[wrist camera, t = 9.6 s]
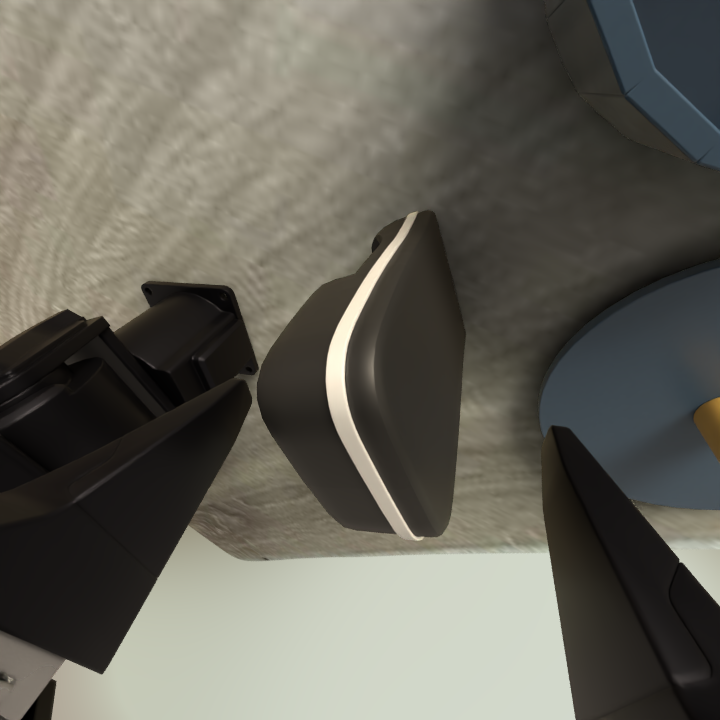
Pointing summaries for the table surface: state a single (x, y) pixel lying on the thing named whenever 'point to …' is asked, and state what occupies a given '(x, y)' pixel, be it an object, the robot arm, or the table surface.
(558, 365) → the tin lid
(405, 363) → the battery charger
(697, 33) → the tin
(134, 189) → the table surface
